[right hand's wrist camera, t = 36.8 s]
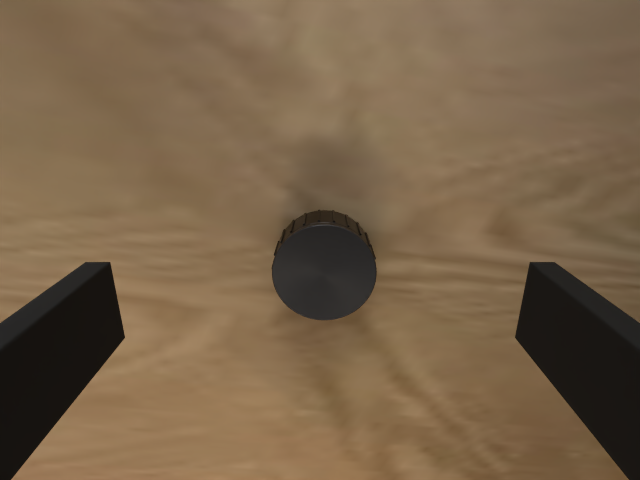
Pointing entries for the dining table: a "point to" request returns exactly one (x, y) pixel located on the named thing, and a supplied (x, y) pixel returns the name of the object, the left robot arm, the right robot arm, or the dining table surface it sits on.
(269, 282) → the dining table surface
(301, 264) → the cap
